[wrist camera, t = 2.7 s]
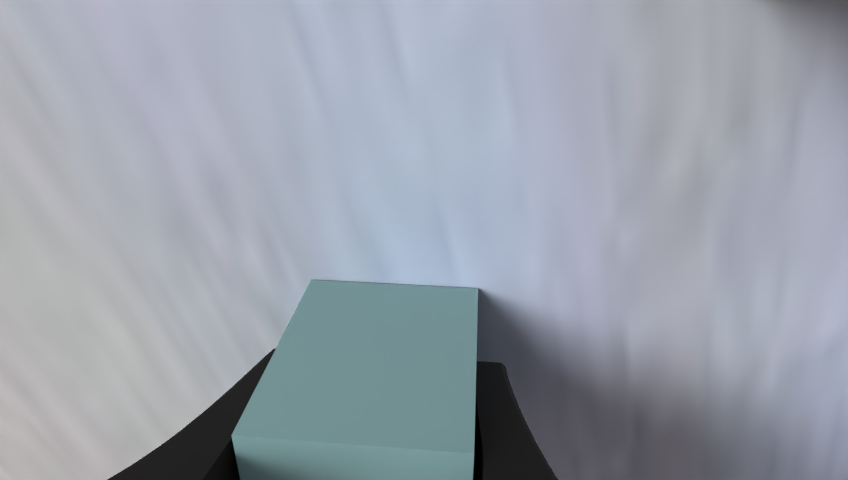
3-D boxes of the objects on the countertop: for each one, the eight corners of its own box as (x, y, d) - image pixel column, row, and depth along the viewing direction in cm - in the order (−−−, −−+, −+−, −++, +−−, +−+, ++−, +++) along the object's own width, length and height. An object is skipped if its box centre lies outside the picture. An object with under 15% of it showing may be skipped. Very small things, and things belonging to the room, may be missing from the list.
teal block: (478, 288, 14) (474, 453, 9) (471, 416, 16) (465, 605, 11) (311, 279, 14) (231, 435, 10) (323, 405, 16) (261, 586, 12)
